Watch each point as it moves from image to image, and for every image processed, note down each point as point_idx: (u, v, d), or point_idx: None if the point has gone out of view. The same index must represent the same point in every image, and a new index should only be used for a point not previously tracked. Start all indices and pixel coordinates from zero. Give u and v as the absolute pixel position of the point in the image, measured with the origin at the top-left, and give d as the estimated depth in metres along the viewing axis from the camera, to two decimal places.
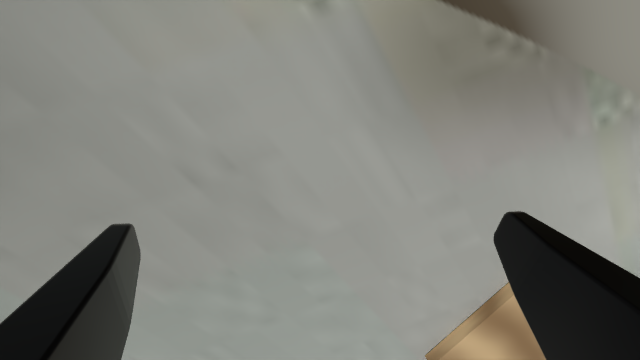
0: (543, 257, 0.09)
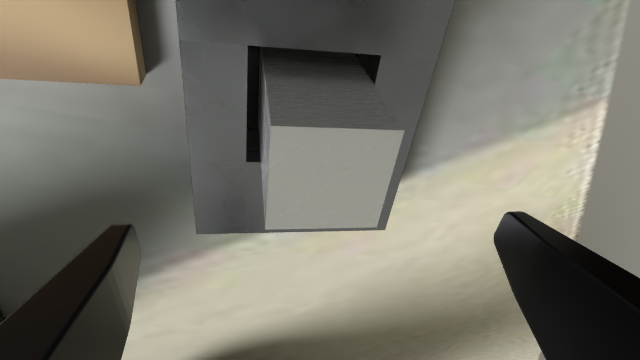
0: (543, 257, 0.09)
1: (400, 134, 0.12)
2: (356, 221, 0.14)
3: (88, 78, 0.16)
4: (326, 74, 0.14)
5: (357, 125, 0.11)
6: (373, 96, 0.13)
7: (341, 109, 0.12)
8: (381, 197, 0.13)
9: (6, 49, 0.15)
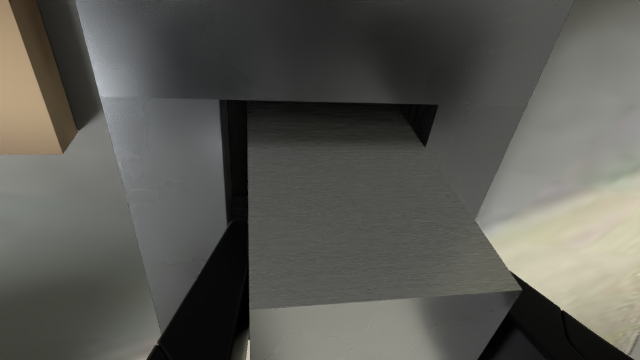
0: None
1: (512, 296, 0.06)
2: None
3: None
4: (352, 144, 0.09)
5: (428, 286, 0.06)
6: (438, 191, 0.08)
7: (389, 234, 0.06)
8: None
9: None
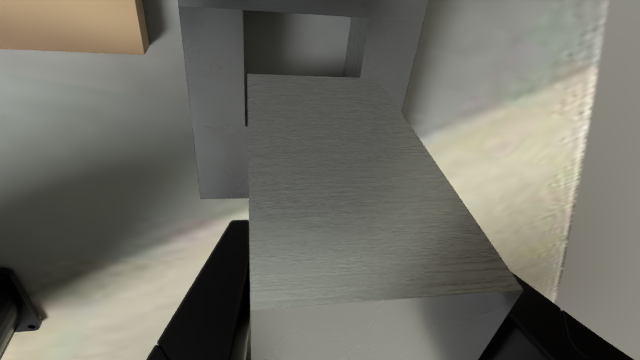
0: None
1: (513, 295, 0.06)
2: None
3: (96, 48, 0.17)
4: (353, 144, 0.09)
5: (428, 286, 0.06)
6: (438, 191, 0.08)
7: (389, 235, 0.06)
8: None
9: (20, 20, 0.16)
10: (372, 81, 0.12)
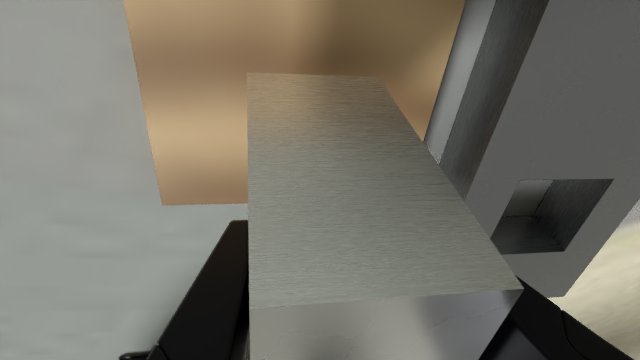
0: None
1: (514, 294, 0.06)
2: None
3: None
4: (352, 142, 0.09)
5: (429, 285, 0.06)
6: (439, 190, 0.07)
7: (390, 233, 0.06)
8: None
9: None
10: (372, 79, 0.12)
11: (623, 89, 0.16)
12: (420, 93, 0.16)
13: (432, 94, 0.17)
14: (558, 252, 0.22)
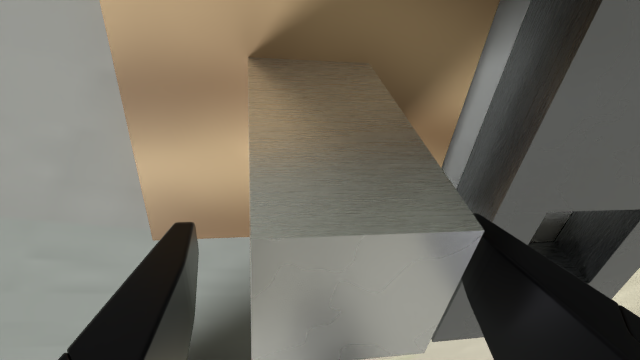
0: (492, 260, 0.08)
1: (476, 236, 0.07)
2: (394, 349, 0.09)
3: None
4: (342, 117, 0.10)
5: (403, 226, 0.07)
6: (418, 155, 0.09)
7: (372, 187, 0.07)
8: (434, 319, 0.08)
9: None
10: (364, 65, 0.13)
11: None
12: (439, 119, 0.15)
13: (452, 120, 0.15)
14: None
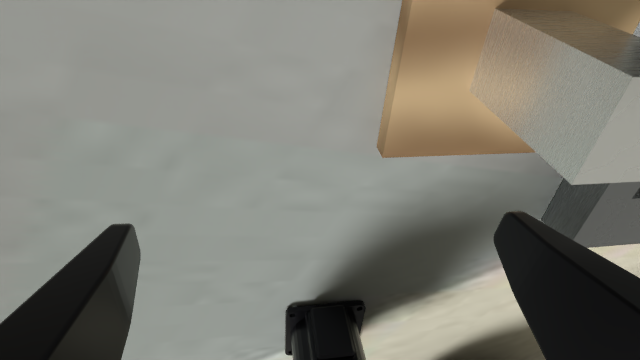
0: (543, 257, 0.09)
1: None
2: None
3: None
4: (600, 35, 0.15)
5: None
6: None
7: None
8: None
9: (509, 136, 0.22)
10: (571, 12, 0.18)
11: None
12: None
13: None
14: None
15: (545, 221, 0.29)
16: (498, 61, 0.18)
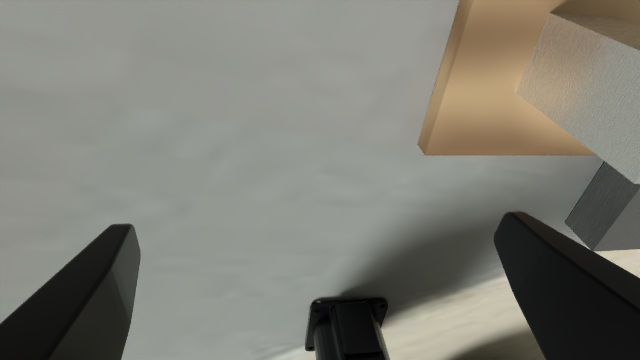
0: (543, 257, 0.09)
1: None
2: None
3: (577, 152, 0.24)
4: None
5: None
6: None
7: None
8: None
9: (547, 138, 0.23)
10: (620, 19, 0.19)
11: None
12: None
13: None
14: None
15: (569, 224, 0.29)
16: (551, 64, 0.18)
